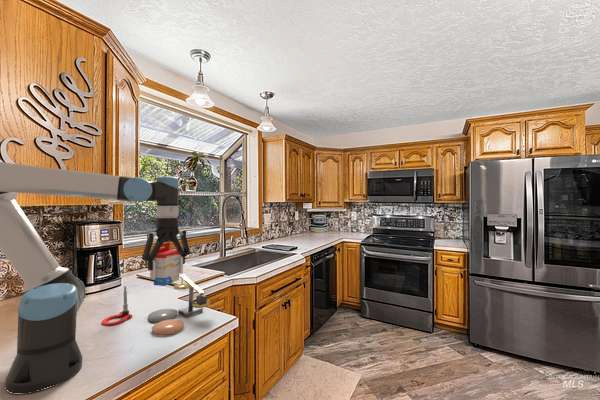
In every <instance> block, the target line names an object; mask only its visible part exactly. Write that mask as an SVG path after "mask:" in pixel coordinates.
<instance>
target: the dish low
mask: <svg viewBox="0 0 600 400" xmlns="http://www.w3.org/2000/svg"><path fill="white" fill-rule="evenodd" d="M183 329H185V321H184V320H181V319H177V318H174V319H170V320H164V321H161V322H159V323H154V325H153V326H152V328H151V333H152V334H153V335H154V336H158V337H166V336H171V335H174V334H175V335H176V334H178V333H180V332H181V331H183Z"/></svg>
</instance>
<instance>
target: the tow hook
mask: <svg viewBox="0 0 600 400" xmlns="http://www.w3.org/2000/svg"><path fill="white" fill-rule="evenodd" d="M116 318H121V319H119V320H116V321H115V320H114V321H111V322H110V320H112V319H116ZM132 318H133V314H130V310H129V304H128V291H127V285H124V286H123V304H122V310H121V311H120V312H119V313H117V314H113V315H110V316H107V317H105V318H104V319H103V320H102V321H101V325H102V326H106V327H108V326H109V327H110V326H116V325H119V324H122V323H124V322H126V321H127V320H128V319H132Z"/></svg>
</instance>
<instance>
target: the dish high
mask: <svg viewBox="0 0 600 400" xmlns="http://www.w3.org/2000/svg"><path fill="white" fill-rule="evenodd" d="M177 317H178V310H177V309H174V308H163V309H161V308H160V309H158V310H155V311H151V312H150V313H149V314H148V315H147V321H148V322H150V323H154V324H157V323H159V322H161V321H164V320H170V319H177Z"/></svg>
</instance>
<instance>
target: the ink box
mask: <svg viewBox="0 0 600 400" xmlns="http://www.w3.org/2000/svg"><path fill="white" fill-rule="evenodd" d="M154 246H156V245H155V244H154ZM162 247H163V248H162ZM170 247H171V243H170V242H164V243H163V244H162V245H161V247H160V249H159V251H158V253H157V254H156V256H155V258H154V260H153V261H156V275H155V279H154V280H153V285H154V286H161V287H166V286H168V285H170V284H172V283H175V282H177V281H180V273H179V260H180V252H179V250H177V249H170Z"/></svg>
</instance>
